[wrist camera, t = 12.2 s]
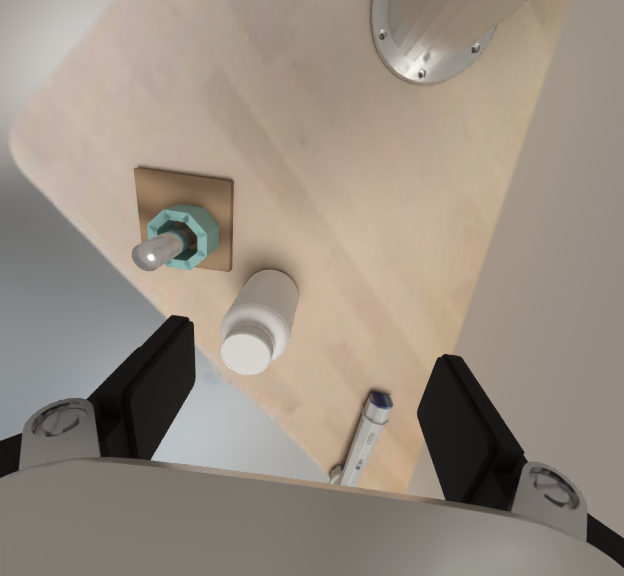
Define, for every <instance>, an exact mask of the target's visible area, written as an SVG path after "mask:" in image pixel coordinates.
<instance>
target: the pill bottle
mask: <svg viewBox="0 0 624 576" xmlns="http://www.w3.org/2000/svg"><path fill="white" fill-rule="evenodd" d="M297 302H298V291H297V288H296V285H295V284H294V282H293V281H292V279H291V278H290V277H289V276H287V275H286V274H284V273H282V272H280V271H277V270H262V271H259V272H257V273H255V274H254V275H253V276H252V277H251V278H249V280H248V281H247V282H246V284H245V286H244V287H243V289H242V290H241V292H240V293H239V295H238V296H237V298H236V299H235V301H234V303H233V304H232V306H231V307H230V309H229V310H228V312H227V313H226V315H225V317H224V319H223V321H222V324H221V338H222V341H223V342H222V344H221V348H220V349H221V350H220V354H221V357H222V360H223V361H224V363H225V364H226V365H227V366H228V367H229V368H230V369H231V370H233V371H234V372H237V373H239V374H243V375H254V374H258V373H260V372H262V371H264V370H265V369H266V368H267V367H268V366H269V364H270V362H271V361H273V360H275V359H276V358H278V357H279V356H280V355H281V354H282V353H283V352H284V350H285V349H286V347H287V345H288V342H289V339H290V334H291V330H292V325H293V320H294V316H295V311H296V307H297Z"/></svg>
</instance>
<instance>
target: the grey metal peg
mask: <svg viewBox="0 0 624 576" xmlns="http://www.w3.org/2000/svg"><path fill="white" fill-rule="evenodd" d="M195 243H197V235H196V234H195V233H194V232H193V231H192V229H191V228H190V227H189V226H188V225H187V224H186V223H184V224H182V225H180V226H177V227H175V228H173V229H171V230H169V231H167V232H165V233H162V234H160V235H158V236H156V237H154V238H152V239H150V240H147V241H145V242H143V243H141V244H139V245H137V246H135V247H134V249H133V251H132V258H133V261H134V262H135V264H136V265H137V266H138V267H139V268H141V269H143V270H145V271H153V270H156V269H157V268H159V267H160V266H162V265H163V264H165V263H166V262H168V261H169V260H171V259H172V258H174V257H175V256H177V255H178V254H180V253H181V252H183V251H185V250H186V249H188V248H189V247H191V246H192V245H194V244H195Z"/></svg>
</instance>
